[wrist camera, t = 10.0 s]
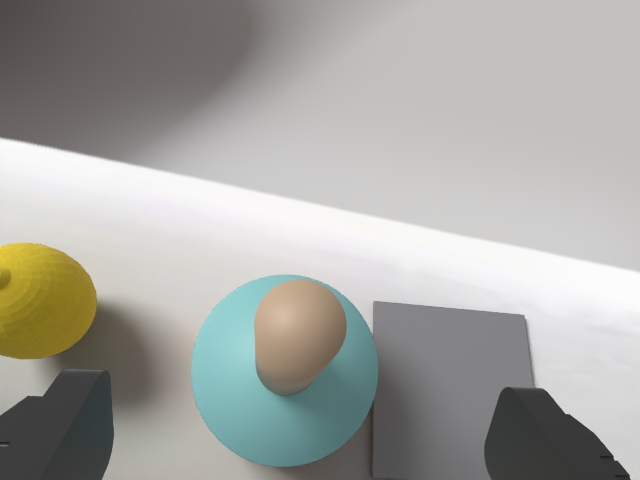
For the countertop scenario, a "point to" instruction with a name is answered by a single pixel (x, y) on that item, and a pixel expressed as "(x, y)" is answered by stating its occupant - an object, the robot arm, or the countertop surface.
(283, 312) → the lid
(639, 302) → the countertop surface
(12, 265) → the lemon
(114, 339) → the countertop surface
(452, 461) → the mat
